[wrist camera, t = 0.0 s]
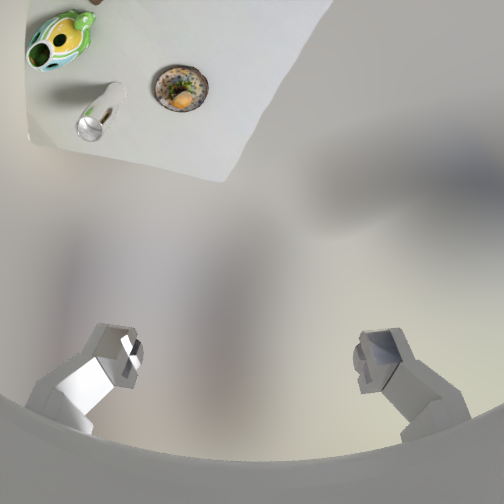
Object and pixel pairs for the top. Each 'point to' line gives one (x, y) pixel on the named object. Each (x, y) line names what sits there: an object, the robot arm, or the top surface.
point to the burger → (181, 89)
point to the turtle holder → (59, 40)
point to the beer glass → (101, 112)
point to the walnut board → (96, 1)
